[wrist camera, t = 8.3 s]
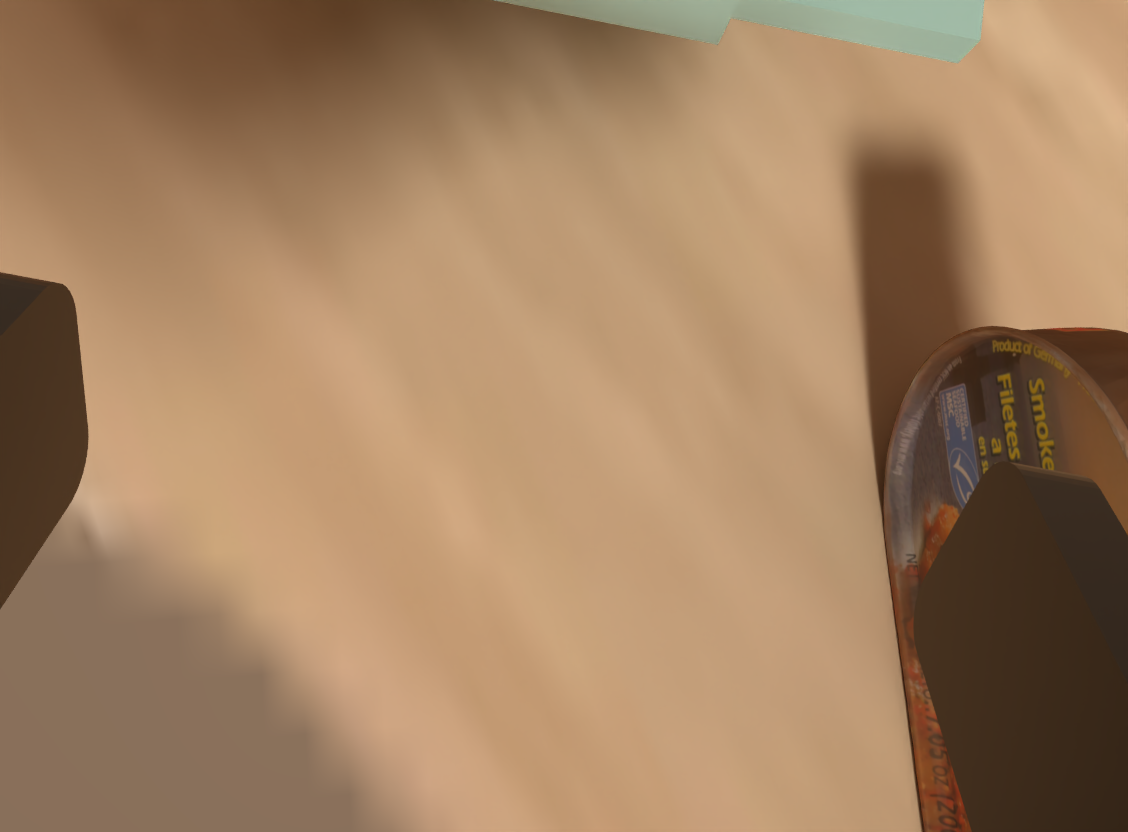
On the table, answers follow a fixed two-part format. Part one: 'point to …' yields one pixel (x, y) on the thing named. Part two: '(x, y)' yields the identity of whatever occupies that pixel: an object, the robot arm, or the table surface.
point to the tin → (968, 449)
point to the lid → (798, 20)
